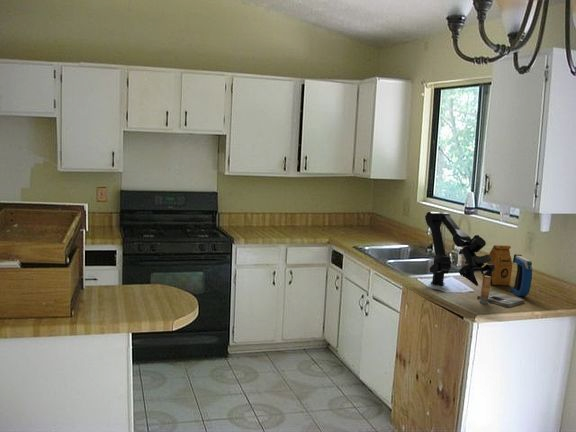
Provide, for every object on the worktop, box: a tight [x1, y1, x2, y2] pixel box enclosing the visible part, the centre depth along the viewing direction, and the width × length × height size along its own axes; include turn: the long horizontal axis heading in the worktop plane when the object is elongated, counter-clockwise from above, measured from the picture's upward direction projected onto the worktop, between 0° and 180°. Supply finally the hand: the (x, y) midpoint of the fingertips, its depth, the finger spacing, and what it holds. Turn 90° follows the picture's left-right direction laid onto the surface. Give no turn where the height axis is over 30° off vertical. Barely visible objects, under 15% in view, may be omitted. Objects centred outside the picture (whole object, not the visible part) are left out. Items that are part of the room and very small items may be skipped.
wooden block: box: [479, 275, 491, 305], centre depth 282 cm, size 4×4×13 cm
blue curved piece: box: [509, 253, 533, 297], centre depth 303 cm, size 5×16×20 cm, turn 2°
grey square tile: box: [476, 291, 525, 308], centre depth 290 cm, size 16×16×2 cm
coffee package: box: [486, 244, 513, 286], centre depth 322 cm, size 10×12×22 cm
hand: (484, 285), depth 282 cm, fingers open, 9 cm apart
